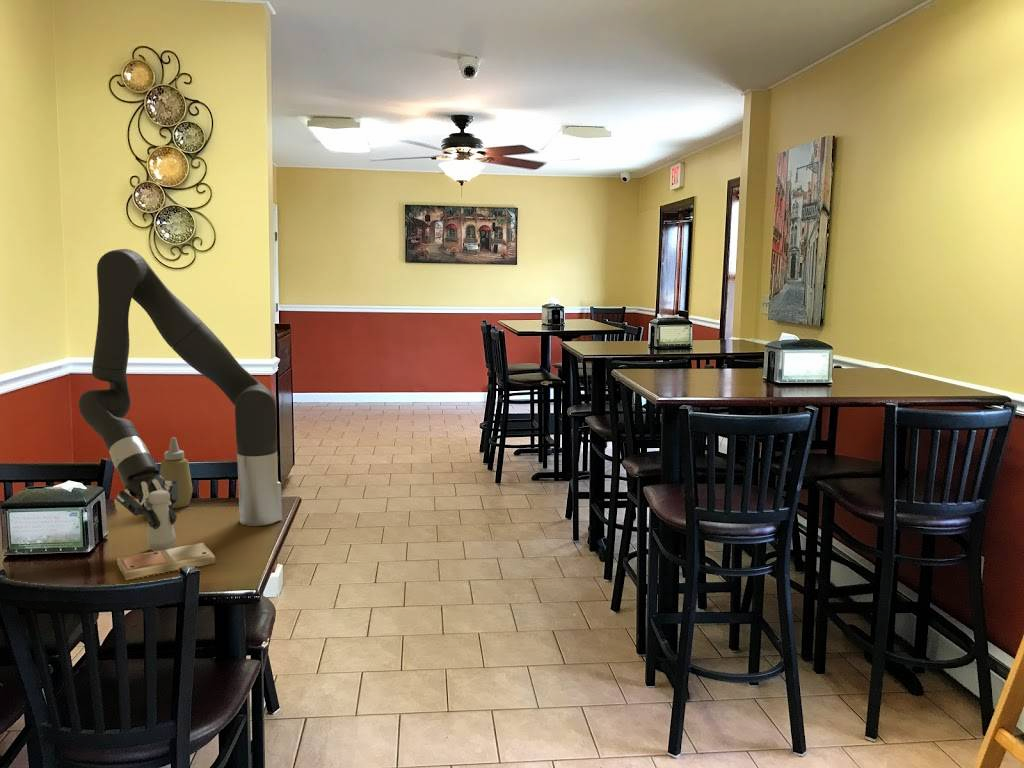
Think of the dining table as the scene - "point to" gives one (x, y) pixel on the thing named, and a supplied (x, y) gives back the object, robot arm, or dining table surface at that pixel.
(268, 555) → the dining table surface
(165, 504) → the salt shaker
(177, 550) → the tile board
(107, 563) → the dining table surface
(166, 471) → the squeeze bottle
